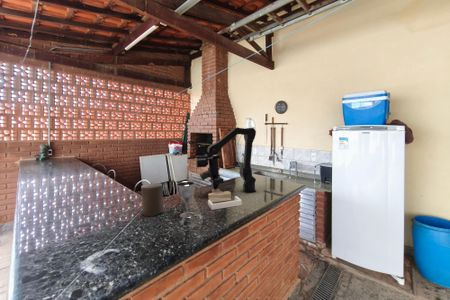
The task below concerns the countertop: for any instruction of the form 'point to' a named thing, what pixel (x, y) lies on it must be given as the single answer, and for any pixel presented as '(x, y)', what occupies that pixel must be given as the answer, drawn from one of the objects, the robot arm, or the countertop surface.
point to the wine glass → (186, 195)
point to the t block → (219, 196)
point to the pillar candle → (152, 199)
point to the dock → (225, 204)
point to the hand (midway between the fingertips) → (214, 191)
